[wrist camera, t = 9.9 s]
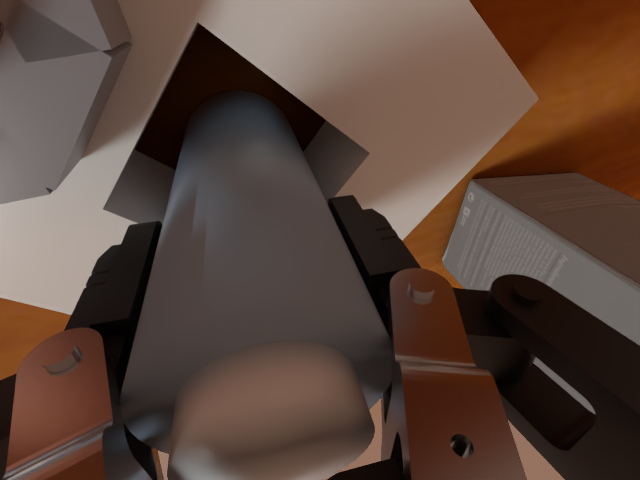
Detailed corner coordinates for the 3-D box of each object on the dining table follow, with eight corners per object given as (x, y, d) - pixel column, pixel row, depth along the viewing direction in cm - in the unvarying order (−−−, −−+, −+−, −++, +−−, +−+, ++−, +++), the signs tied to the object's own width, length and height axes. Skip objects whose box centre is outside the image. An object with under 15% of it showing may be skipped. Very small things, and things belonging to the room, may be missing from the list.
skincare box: (436, 260, 23) (686, 577, 11) (472, 161, 19) (948, 490, 7) (539, 251, 25) (850, 508, 13) (591, 159, 21) (1132, 408, 8)
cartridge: (169, 97, 14) (16, 431, 4) (287, 83, 14) (444, 329, 4) (201, 200, 17) (170, 541, 6) (298, 184, 17) (406, 471, 7)
